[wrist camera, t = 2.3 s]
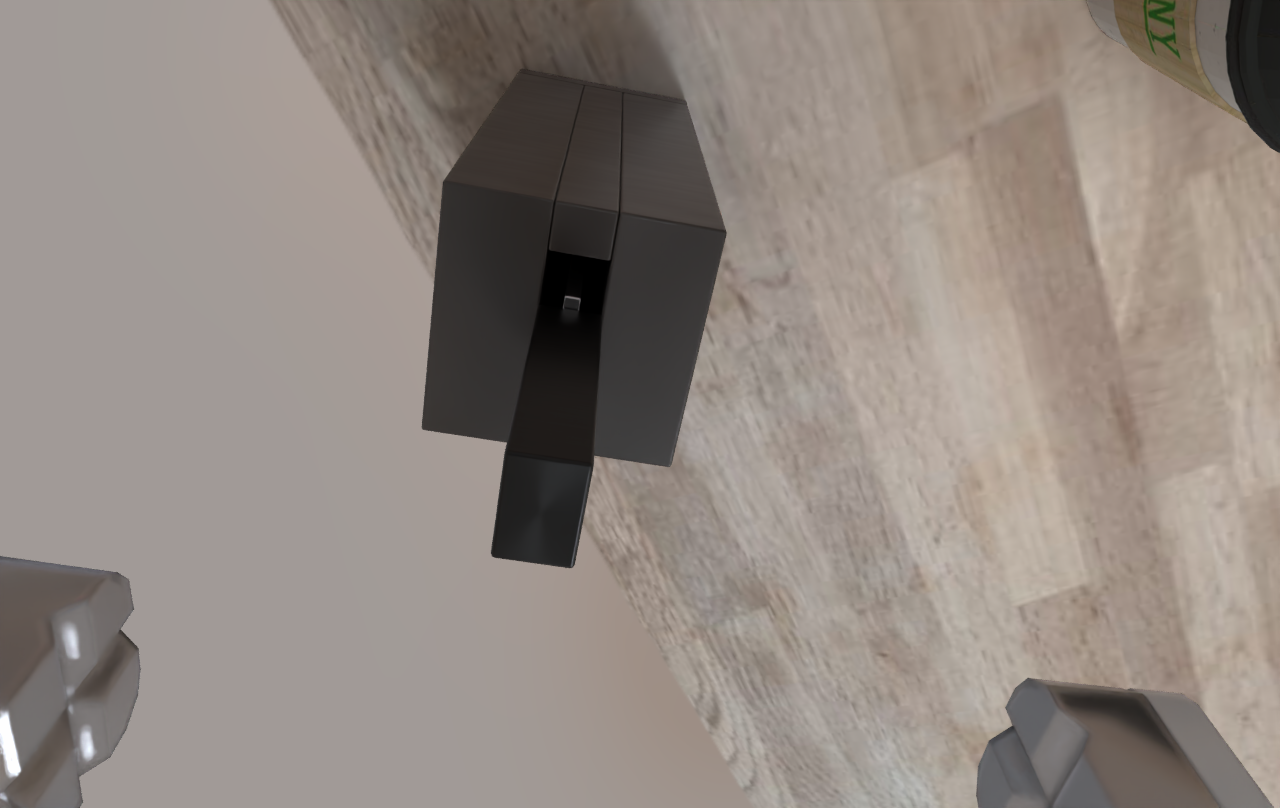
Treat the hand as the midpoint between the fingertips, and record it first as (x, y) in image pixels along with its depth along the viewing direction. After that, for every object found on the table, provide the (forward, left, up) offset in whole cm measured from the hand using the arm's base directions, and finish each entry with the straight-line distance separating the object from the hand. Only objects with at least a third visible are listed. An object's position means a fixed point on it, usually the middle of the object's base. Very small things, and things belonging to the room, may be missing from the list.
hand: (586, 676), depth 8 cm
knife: (-1, -4, -33) cm, 33 cm away
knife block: (-1, -4, -34) cm, 34 cm away
